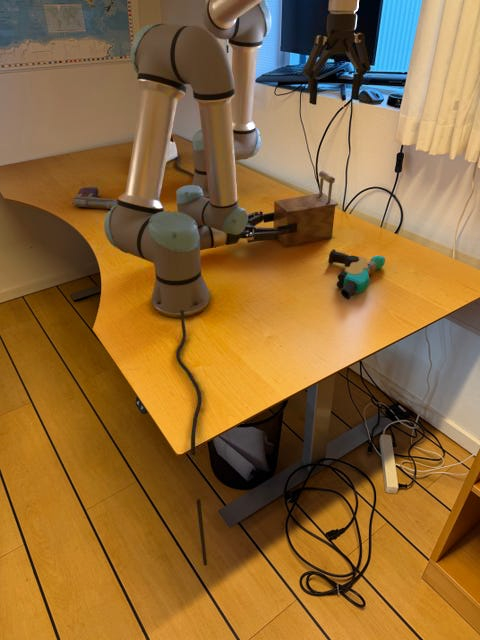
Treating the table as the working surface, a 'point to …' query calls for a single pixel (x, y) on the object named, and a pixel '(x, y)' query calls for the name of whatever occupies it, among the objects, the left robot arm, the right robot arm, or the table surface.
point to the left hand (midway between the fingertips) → (289, 221)
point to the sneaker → (172, 149)
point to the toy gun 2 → (354, 272)
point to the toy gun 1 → (92, 199)
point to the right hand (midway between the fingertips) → (333, 101)
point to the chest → (305, 225)
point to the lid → (309, 199)
